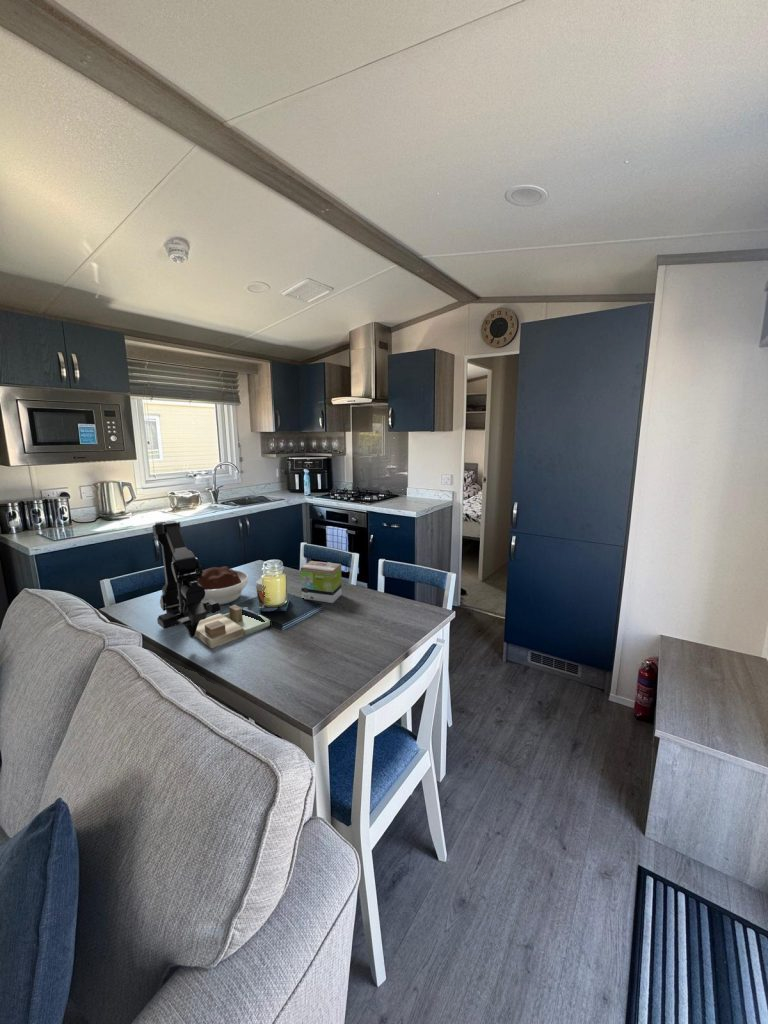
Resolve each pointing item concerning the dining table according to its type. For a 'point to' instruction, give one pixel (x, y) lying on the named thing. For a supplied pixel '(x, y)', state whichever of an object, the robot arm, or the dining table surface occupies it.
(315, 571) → the tea box
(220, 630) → the walnut tile
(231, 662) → the dining table surface
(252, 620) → the tray
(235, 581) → the white serving bowl
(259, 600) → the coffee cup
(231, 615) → the walnut tile
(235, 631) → the birch bench plate
